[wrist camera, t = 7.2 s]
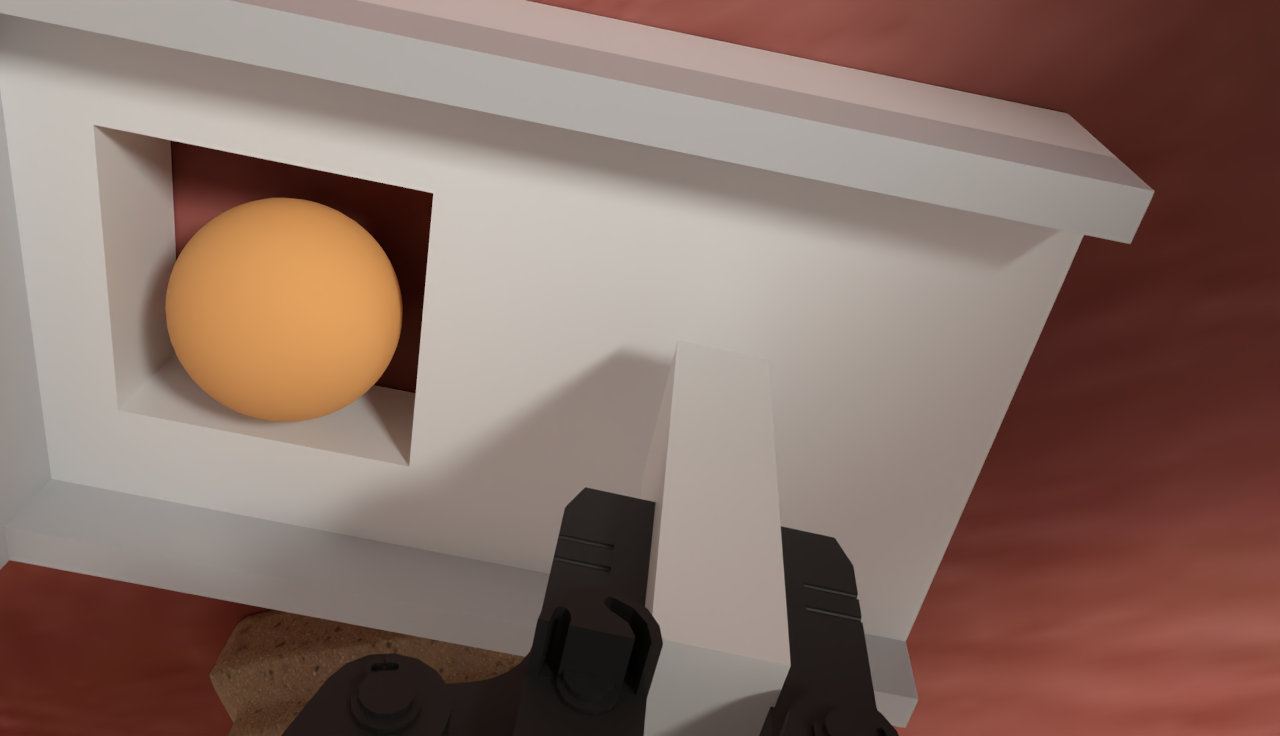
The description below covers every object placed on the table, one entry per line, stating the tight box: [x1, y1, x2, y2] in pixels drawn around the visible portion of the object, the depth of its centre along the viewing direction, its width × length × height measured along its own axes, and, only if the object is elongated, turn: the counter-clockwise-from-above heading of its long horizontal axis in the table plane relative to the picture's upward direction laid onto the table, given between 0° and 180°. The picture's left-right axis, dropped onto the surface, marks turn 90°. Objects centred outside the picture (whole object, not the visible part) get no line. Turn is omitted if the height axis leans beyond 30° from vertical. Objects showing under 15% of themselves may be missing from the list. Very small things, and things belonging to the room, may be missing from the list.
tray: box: [0, 0, 1155, 728], centre depth 18 cm, size 11×18×4 cm, turn 79°
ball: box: [165, 198, 403, 422], centre depth 18 cm, size 4×4×4 cm
